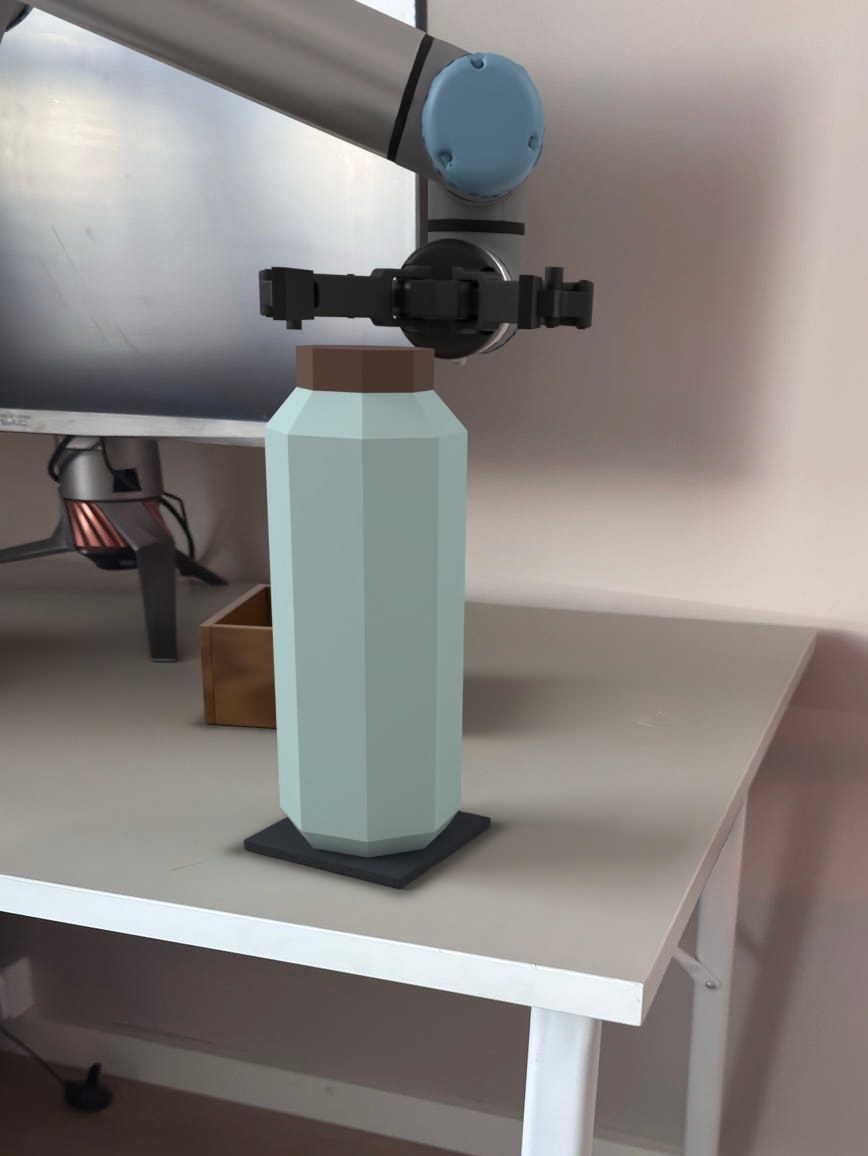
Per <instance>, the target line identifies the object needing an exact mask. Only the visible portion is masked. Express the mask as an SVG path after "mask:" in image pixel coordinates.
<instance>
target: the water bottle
mask: <svg viewBox="0 0 868 1156" xmlns="http://www.w3.org/2000/svg"><path fill="white" fill-rule="evenodd" d="M434 351H435V349H430V348H420V347H415V346H401V345H399V346H398V345H374V344H373V345H371V344H306V345H303V344H302V345H295V377H296V378H295V380H296V381H295V382H296V383H295V384H296V385H295V386H296V387H295V388H293V389H294V390H293V391H291V393H290V394H289V396H288V397H286V399H285V401H284V402H283V403H282V404H281V406H280V407H279V408H278V409H277V410H276V412H275V413H274V414H273V416H272V417H271V418H270V419H269V420H268V422H267V423H266V424H265V425H264V426H263V428H264V430H263V431H264V451H265V452H264V453H265V454H264V455H265V476H266V501H267V503H266V504H267V523H268V524H267V527H268V549H269V573H270V574H269V575H270V576H269V577H270V584H271V600H272V624H273V649H274V673H275V697H276V721H277V728H276V742H277V743H276V744H277V745H276V746H277V766H278V767H277V769H278V790H279V808H280V809H281V810H282V811H283V813H284V814H285V815H286V817H288V818H289V819H290V820H291V822H292V823H293V824H294V826H295V827H296V828H297V829H298V830H299V832H300V833H301V834H302V835H303V836H304V837H305V838H306V840H307V841H308V842H309V843H310V844H311V845H312V847H313V848H315V849H321V850H327V851H333V852H339V853H344V854H350V855H356V856H362V857H368V858H369V857H375V856H381V855H388V854H394V853H400V852H406V851H413V850H419V849H424V848H425V847H426V846H427V845H428V844H429V843H430V842H431V841H433V840H434V839H435V838H436V837H437V836H438V835H439V834H440V833H441V832H442V831H443V830H444V829H445V828H446V827H447V825H448V824H449V823H450V821H451V820H452V819H453V817H454V816H455V815H456V813H457V812H458V811H460V809H461V808H462V763H463V761H462V760H463V758H462V756H463V755H462V754H463V707H464V706H463V702H464V700H463V699H464V647H465V646H464V645H465V599H466V598H465V592H466V591H465V589H466V544H467V542H466V538H467V537H466V536H467V535H466V534H467V533H466V532H467V531H466V530H467V486H468V485H467V483H468V432H469V431H468V430H467V429H466V427H465V426H464V425H463V423H462V422H461V421H460V420H459V419H458V417H456V415H455V414H454V413H453V411H452V410H451V409H450V408H449V407H448V406H447V405H446V403H445V402H444V401H443V400H442V398H441V397H440V396H439V395H438V393H436V391H435V390H434V383H435V382H434V381H435V378H434V377H435V358H434Z"/></svg>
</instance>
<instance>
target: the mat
mask: <svg viewBox="0 0 868 1156" xmlns="http://www.w3.org/2000/svg"><path fill="white" fill-rule="evenodd" d="M491 822H492V819H491V817H490V816H485V815H481V814H476V813H471V812H466V811H462V810H459V811H458V812H457V813H456V815H455V816H454V817H453V819H452V820H451V821H450V823H449V824H448V825H447V827H446V828H445V829H444V830H443V831H442V832H441V833H440V834H439V835H438V836H437V837H436V838H435V839H434V840H433V841H431V842H430V843H429V844H428V845H427V846H426V847H425V848H424V849H419V850H413V851H406V852H400V853H394V854H388V855H381V856H375V857H369V858H368V857H362V856H356V855H350V854H344V853H339V852H333V851H327V850H321V849H315V848H313V847H312V845H311V844H310V843H309V842H308V841H307V840H306V838H305V837H304V836H303V835H302V834H301V833H300V832H299V830H298V829H297V828H296V827H295V826H294V824H293V823H292V822H291V820H290V819H289V818H288V816H286V817H284V818H282V819H280V820H278V821H277V822H274V823H273V824H271V825H269V826H267V827H265V828H264V829H262V830H260V831H258V832H256V833H254V834H252V835H250V836H248V837H246V838H244V839H243V849H244V850H245V851H249V852H253V853H257V854H261V855H265V856H269V857H272V858H276V859H281V860H283V861H284V860H285V861H289V862H292V863H296V864H299V865H300V864H301V865H305V866H308V867H313V868H317V869H319V870H320V869H321V870H325V871H329V872H331V873H336V874H340V875H345V876H348V877H352V878H355V879H359V880H364V881H367V882H368V881H369V882H372V883H375V884H379V885H383V886H387V887H392V888H395V889H399V890H401V889H402V888H404V887H406V886H407V885H409V884H410V883H411V882H413V881H414V880H416V879H417V878H419V877H420V876H421V875H423V874H425V873H426V872H427V871H429V870H430V869H431V868H433V867H434V866H436V865H437V864H439V863H440V862H442V861H444V860H445V859H446V858H447V857H449V856H450V855H452V854H453V853H455V852H456V851H457V850H459V849H460V848H462V847H463V846H465V845H466V844H468V843H469V842H470V841H472V840H473V839H475V838H476V837H478V836H479V835H481V834H482V833H483V832H485V831H487V830H488V829H489V828H491Z"/></svg>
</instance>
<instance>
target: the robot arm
mask: <svg viewBox="0 0 868 1156" xmlns="http://www.w3.org/2000/svg"><path fill="white" fill-rule="evenodd" d="M33 9H37V10H38V11H41V12H44V13H46V14H48V15H51V16H53V17H55V18H57V19H60V20H62V21H65V22H67V23H69V24H71V25H73V26H76V27H79V28H80V29H83V30H85V31H88V32H90V33H93V34H95V35H97V36H99V37H101V38H104V39H106V40H108V41H110V42H114V43H116V44H118V45H120V46H123V47H125V48H128V49H129V50H132V51H134V52H137V53H139V54H141V55H144V56H146V57H147V58H151V59H152V60H155V61H158V62H159V63H162V64H164V65H167V66H169V67H172V68H174V69H177V70H178V71H180V72H183V73H185V74H187V75H190V76H193V77H195V78H197V79H199V80H201V81H204V82H207V83H208V84H210V85H214V86H216V87H218V88H220V89H222V90H224V91H227V92H229V93H232V94H234V95H236V96H238V97H241V98H244V99H246V100H248V101H250V102H253V103H255V104H257V105H260V106H262V107H265V108H267V109H269V110H271V111H273V112H277V113H279V115H280V114H281V115H283V116H285V117H288V118H290V119H292V120H294V121H297V122H299V123H300V124H304V125H306V126H308V127H311V128H313V129H315V130H318V131H320V132H322V133H324V134H327V135H330V136H332V137H333V138H336V139H338V140H341V141H343V142H345V143H348V144H350V145H352V146H355V147H357V148H359V149H362V150H364V151H366V152H369V153H371V154H374V155H376V156H377V157H380V158H382V159H385V160H387V161H390V162H392V163H394V164H395V165H397V166H399V167H401V168H403V169H405V170H408V171H410V172H412V173H413V174H417V175H419V176H421V177H424V178H425V179H426V178H428V243H426V244H425V243H424V244H422V245H420V246H419V247H418V248H416V249H415V250H413V252H412V253H410V255H409V256H408V257H407V258H406V259H405V261H404V262H403V264H402V265H401V267H400V268H394V267H393V268H392V267H391V268H389V267H375V268H374V269H372V270H371V272H370V274H369V275H355V273H346V274H337V273H335V274H334V273H333V274H332V273H315V272H314V270H313V269H306V268H305V269H304V268H297V267H288V266H271V268H264V269H260V270H259V271H258V291H259V293H258V295H259V315H260V316H262V317H265V318H271V319H272V321H280V322H281V321H283V322H284V321H285V329H286V330H293V331H302V330H303V321H315V318H347V319H370V321H371V323H372V325H373V326H374V327H384V328H399V329H400V330H401V332H402V334H403V335H404V337H405V338H406V339H407V340H408V342H409V343H410V344H411V345H412V346H413V347H420V348H430V349H435V351H434V359H439V360H443V361H444V360H446V361H452V364H454V365H455V366H457V367H458V366H464V365H465V364H466V363H467V358H468V357H471V356H474V355H480V354H482V355H487V354H490V353H494V352H497V351H498V350H500V349H501V348H502V347H504V346H505V345H506V344H508V343H509V342H510V341H511V340H513V338H514V337H515V336H516V335H517V332H518V331H519V330H536V329H541V326H544V327H545V328H546V329H555V328H559V327H561V326H562V327H575V328H576V330H585V331H586V329H590V328H592V326H593V325H592V323H593V309H594V308H593V307H594V293H595V283H594V282H593V280H592V281H590V280H589V279H579V280H578V281H568V282H567V281H564V272H565V271H564V269H565V267H563V266H544V279H543V277H542V276H538V275H534V274H524V270H525V269H524V268H525V267H524V265H525V240H526V225H525V217H526V216H525V215H526V200H527V186H528V185H527V184H528V178H529V176H530V174H531V172H532V171H533V169H534V168H536V167H537V165H538V163H539V160H540V157H541V155H542V152H543V149H544V135H545V131H546V126H545V114H544V106H543V101H542V99H541V95H540V93H539V90H538V88H537V86H536V85H535V83H534V81H533V79H532V78H531V76H530V75H529V72H528V71H527V69H526V68H525V67H524V66H523V65H521V64H519V63H516V62H515V61H513V60H512V59H510V58H508V57H506V56H504V55H501V54H499V53H494V52H479V51H478V52H475V53H472V52H469V51H467V50H465V49H463V48H460V47H459V46H457V45H454V44H452V43H450V42H447V41H446V40H442V39H440V38H437V37H435V36H432V35H430V34H428V33H427V32H426V31H424V30H422V29H419V28H418V27H414V26H413V25H410V24H408V23H406V22H404V21H402V20H400V19H397V18H395V17H393V16H391V15H389V14H386V13H384V12H382V11H380V10H377V9H376V8H373V7H371V6H369V5H368V4H367V5H366V4H365V3H363V2H360V1H358V0H0V45H1V44H2V41H3V38H4V35H5V34H6V33H7V32H9V31H12V30H13V29H14V28H15V27H17V26H18V25H19V24H20V23H22V22H23V21H25V19H26V18H28V16H29V15H30V14H31V12H32V11H33Z"/></svg>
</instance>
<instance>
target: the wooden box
mask: <svg viewBox="0 0 868 1156" xmlns="http://www.w3.org/2000/svg"><path fill="white" fill-rule="evenodd" d="M198 631H199V635H198V636H199V649H200V667H201V682H202V697H203V713H204V723H205V724H206V725H207V724H208V725H220V726H233V727H234V726H236V727H251V728H268V729H277V721H276V697H275V673H274V649H273V624H272V600H271V583H270V584H267V583H258V584H257V585H255V586H254V587H252V588H251V589H249V590H248V591H247V592H245V593H244V594H242V595H240V597H238V598H237V599H235V600H234V601H232V602H231V603H230V604H228V605H227V606H226V607H223V608H222V609H220V611H218V612H217V613H215V614H213V616H211V617H210V618H208V619H207V620H205V621H203V623H201V624H199V626H198Z"/></svg>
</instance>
